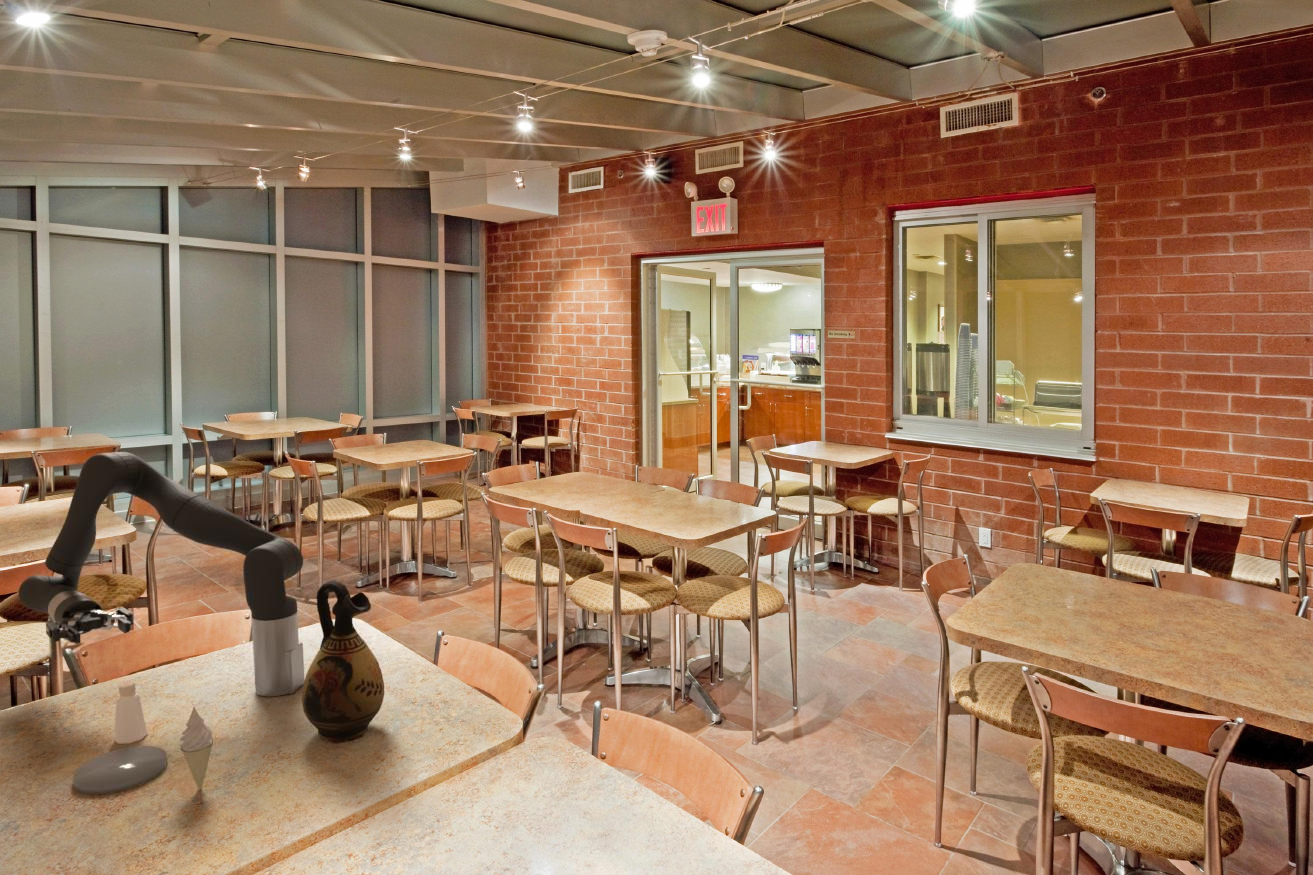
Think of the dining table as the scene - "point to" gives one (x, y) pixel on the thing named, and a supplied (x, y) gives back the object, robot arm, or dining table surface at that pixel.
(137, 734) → the pepper shaker
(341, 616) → the ceramic jug
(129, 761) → the grey round coaster
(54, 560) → the robot arm
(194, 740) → the ice cream cone
